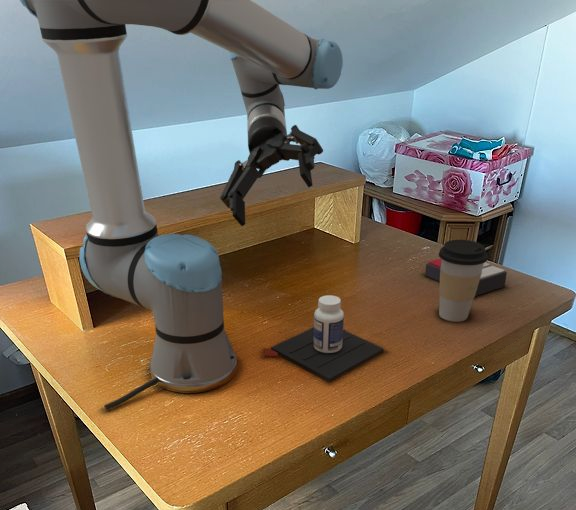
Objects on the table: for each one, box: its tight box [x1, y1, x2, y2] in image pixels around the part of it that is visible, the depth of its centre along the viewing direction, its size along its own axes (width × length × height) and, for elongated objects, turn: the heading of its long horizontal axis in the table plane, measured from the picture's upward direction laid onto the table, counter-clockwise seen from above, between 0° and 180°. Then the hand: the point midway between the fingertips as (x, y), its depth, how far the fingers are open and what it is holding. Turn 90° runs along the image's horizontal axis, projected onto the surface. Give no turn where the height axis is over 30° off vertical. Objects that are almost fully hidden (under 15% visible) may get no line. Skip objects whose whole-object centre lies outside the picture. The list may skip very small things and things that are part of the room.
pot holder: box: [264, 326, 385, 383], centre depth 112 cm, size 17×16×1 cm
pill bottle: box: [313, 294, 345, 353], centre depth 110 cm, size 5×5×10 cm
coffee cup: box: [438, 239, 489, 323], centre depth 121 cm, size 9×9×15 cm
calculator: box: [424, 257, 508, 297], centre depth 139 cm, size 11×4×15 cm
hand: (271, 201), depth 100 cm, fingers open, 13 cm apart
